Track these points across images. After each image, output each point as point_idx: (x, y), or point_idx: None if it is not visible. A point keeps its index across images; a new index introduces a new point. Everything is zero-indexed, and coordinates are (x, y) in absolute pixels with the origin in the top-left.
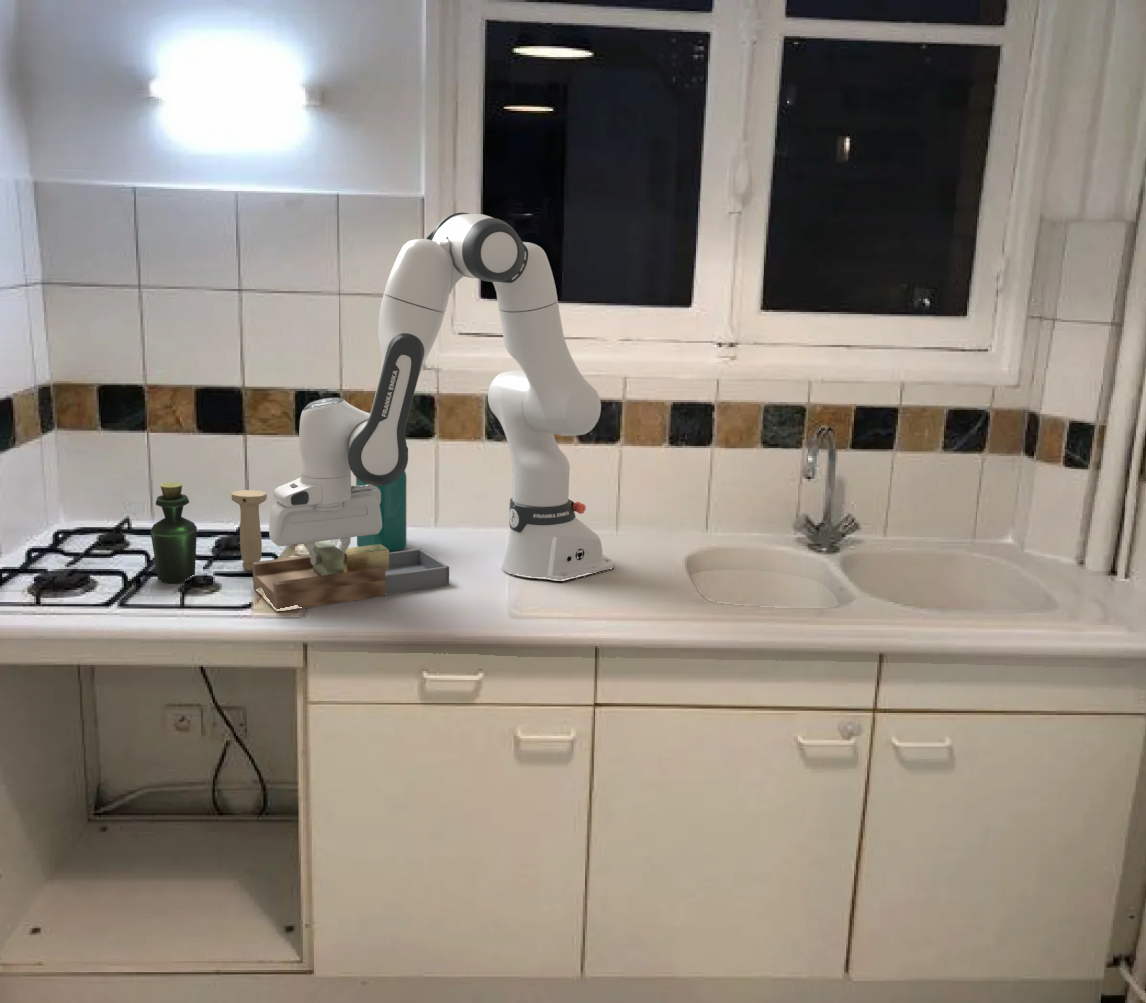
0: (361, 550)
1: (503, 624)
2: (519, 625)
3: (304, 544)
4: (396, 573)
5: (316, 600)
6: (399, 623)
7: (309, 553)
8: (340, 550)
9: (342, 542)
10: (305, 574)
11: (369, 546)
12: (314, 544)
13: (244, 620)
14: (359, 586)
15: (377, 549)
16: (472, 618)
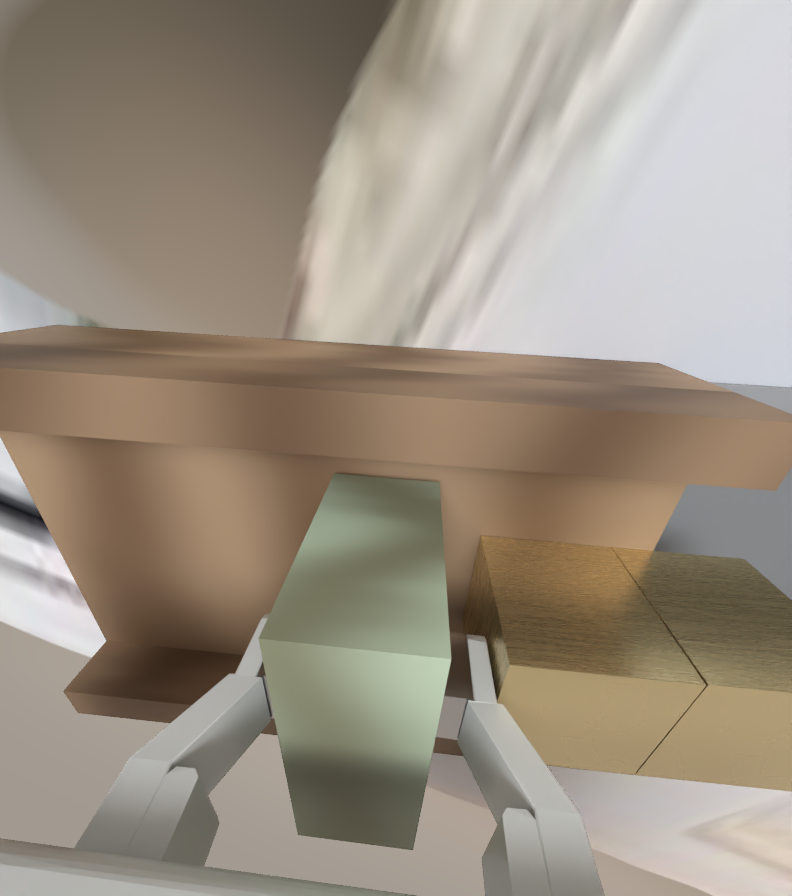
0: (627, 741)
1: (638, 838)
2: (659, 849)
3: (123, 786)
4: (790, 511)
5: None
6: (450, 765)
7: (225, 681)
8: (415, 830)
9: (487, 847)
10: (273, 517)
11: (768, 707)
12: (203, 854)
13: (65, 609)
14: None
15: (742, 763)
16: (614, 806)
